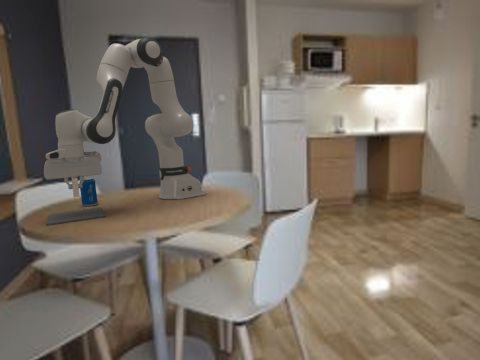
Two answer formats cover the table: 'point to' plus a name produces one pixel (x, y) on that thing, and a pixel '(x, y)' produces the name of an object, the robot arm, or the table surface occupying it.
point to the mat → (75, 216)
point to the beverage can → (88, 192)
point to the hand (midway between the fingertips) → (75, 188)
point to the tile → (75, 187)
